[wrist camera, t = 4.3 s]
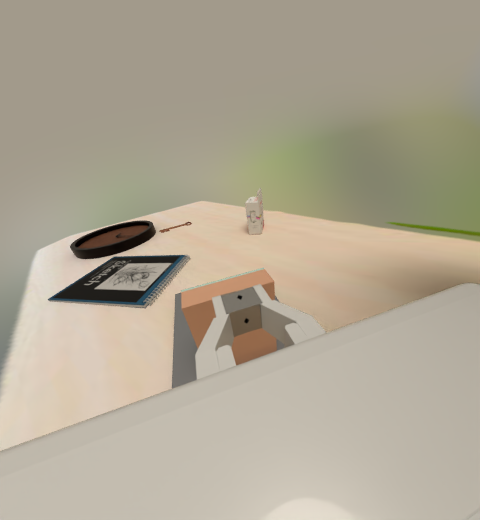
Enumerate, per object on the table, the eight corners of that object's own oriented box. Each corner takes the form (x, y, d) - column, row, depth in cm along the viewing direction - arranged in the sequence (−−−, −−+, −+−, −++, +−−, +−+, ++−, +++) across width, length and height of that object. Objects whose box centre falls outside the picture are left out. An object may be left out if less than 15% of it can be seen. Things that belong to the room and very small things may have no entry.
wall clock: (68, 238, 79) (140, 217, 97) (73, 246, 81) (143, 224, 99) (72, 258, 58) (163, 227, 76) (79, 269, 60) (166, 236, 78)
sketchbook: (115, 259, 64) (113, 254, 63) (192, 259, 57) (190, 253, 56) (50, 303, 46) (45, 296, 45) (150, 310, 39) (146, 303, 38)
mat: (257, 273, 45) (257, 271, 44) (313, 352, 26) (313, 349, 26) (176, 296, 41) (175, 294, 41) (172, 406, 22) (171, 404, 22)
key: (160, 235, 80) (193, 226, 85) (160, 233, 80) (192, 224, 84) (159, 230, 85) (190, 222, 89) (159, 228, 84) (190, 220, 89)
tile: (268, 335, 29) (263, 267, 22) (276, 352, 26) (274, 281, 20) (206, 357, 27) (181, 290, 20) (209, 377, 24) (181, 308, 18)
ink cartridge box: (252, 226, 73) (248, 188, 66) (264, 225, 72) (261, 187, 65) (248, 234, 66) (243, 193, 59) (261, 234, 65) (258, 192, 58)
